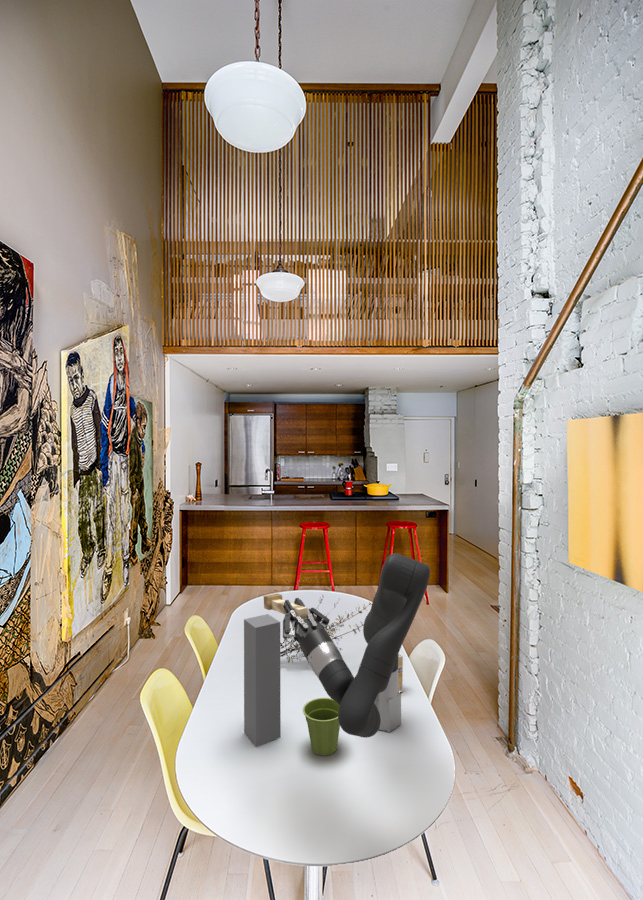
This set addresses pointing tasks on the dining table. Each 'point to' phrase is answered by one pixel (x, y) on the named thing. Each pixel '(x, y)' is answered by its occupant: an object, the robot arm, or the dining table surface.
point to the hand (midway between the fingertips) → (290, 601)
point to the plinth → (262, 679)
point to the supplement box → (400, 671)
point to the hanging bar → (277, 604)
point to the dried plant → (326, 630)
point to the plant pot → (322, 724)
